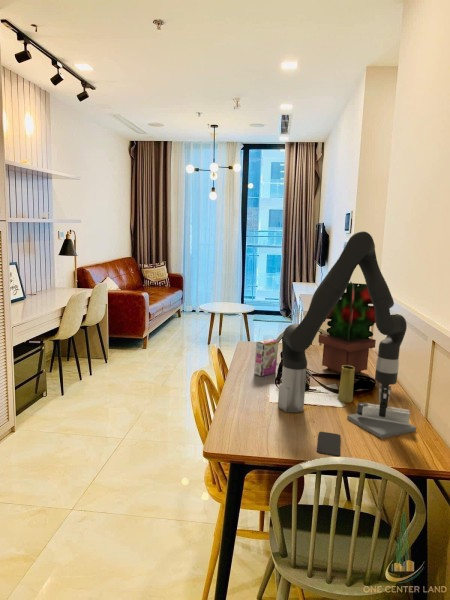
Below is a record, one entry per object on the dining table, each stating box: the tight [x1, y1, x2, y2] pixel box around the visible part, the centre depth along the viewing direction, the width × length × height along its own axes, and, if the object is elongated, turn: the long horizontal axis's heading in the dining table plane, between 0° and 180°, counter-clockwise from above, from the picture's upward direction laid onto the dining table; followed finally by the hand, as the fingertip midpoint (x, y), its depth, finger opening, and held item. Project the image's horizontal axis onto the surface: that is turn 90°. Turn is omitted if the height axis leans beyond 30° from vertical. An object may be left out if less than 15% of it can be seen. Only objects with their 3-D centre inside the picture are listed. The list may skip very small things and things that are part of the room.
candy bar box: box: [253, 338, 279, 378], centre depth 213 cm, size 11×5×16 cm, turn 134°
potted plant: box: [318, 280, 377, 375], centre depth 221 cm, size 22×22×45 cm
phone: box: [316, 431, 342, 457], centre depth 146 cm, size 7×1×15 cm
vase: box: [337, 365, 355, 403], centre depth 185 cm, size 6×6×14 cm
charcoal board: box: [346, 413, 417, 439], centre depth 163 cm, size 17×17×2 cm
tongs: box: [356, 401, 410, 424], centre depth 162 cm, size 18×4×4 cm, turn 71°
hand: (382, 413), depth 162 cm, fingers closed on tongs, 4 cm apart
